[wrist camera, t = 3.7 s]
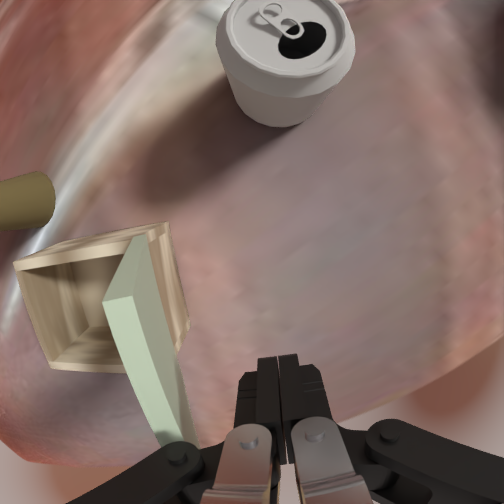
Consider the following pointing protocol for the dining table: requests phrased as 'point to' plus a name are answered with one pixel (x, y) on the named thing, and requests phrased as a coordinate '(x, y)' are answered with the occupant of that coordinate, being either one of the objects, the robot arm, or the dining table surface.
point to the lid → (148, 346)
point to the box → (93, 296)
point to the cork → (26, 201)
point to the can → (284, 56)
